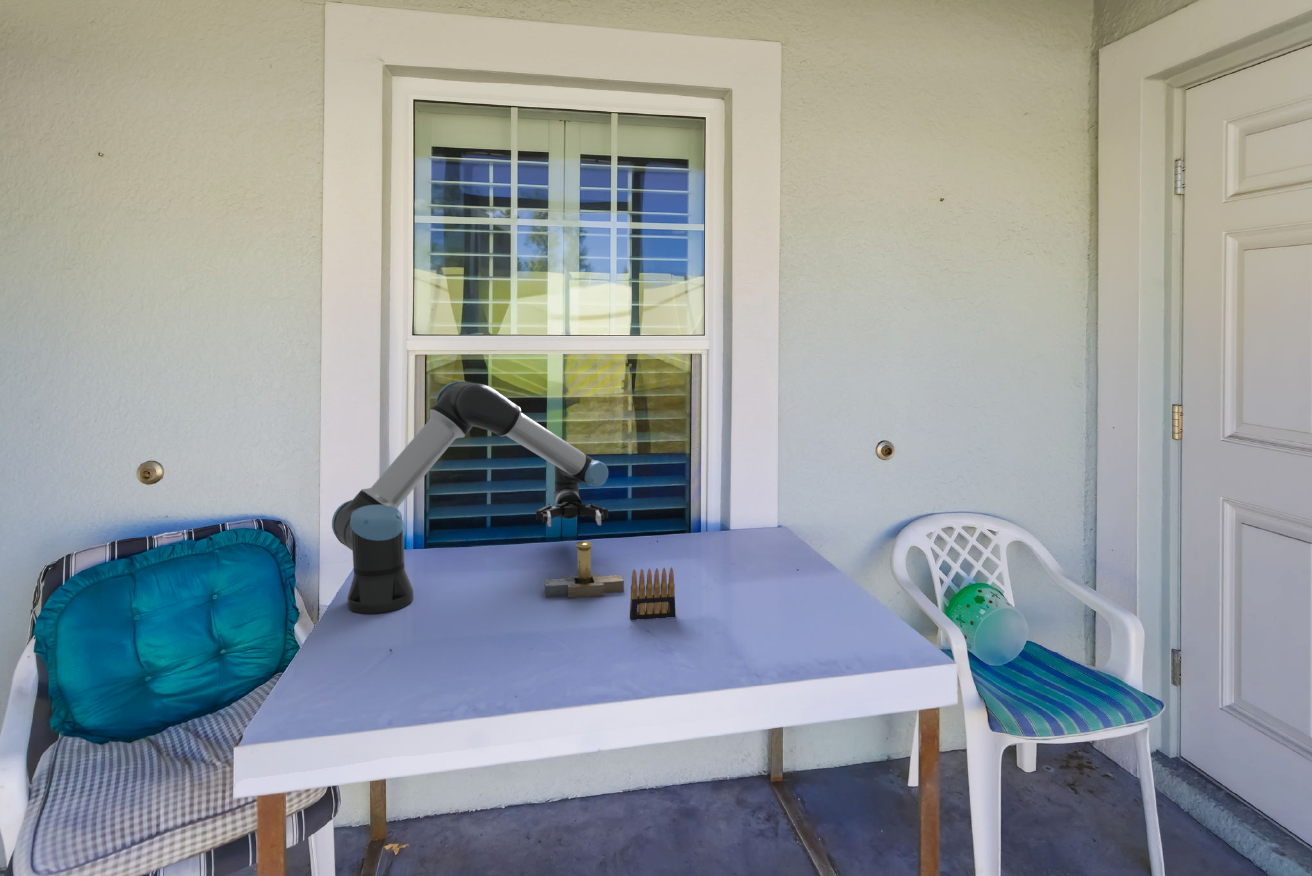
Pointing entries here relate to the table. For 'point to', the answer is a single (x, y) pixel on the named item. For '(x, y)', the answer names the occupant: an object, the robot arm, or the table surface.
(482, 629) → the table surface
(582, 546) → the link pin
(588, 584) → the chain joint
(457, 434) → the robot arm
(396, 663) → the table surface
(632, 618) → the ammunition clip
